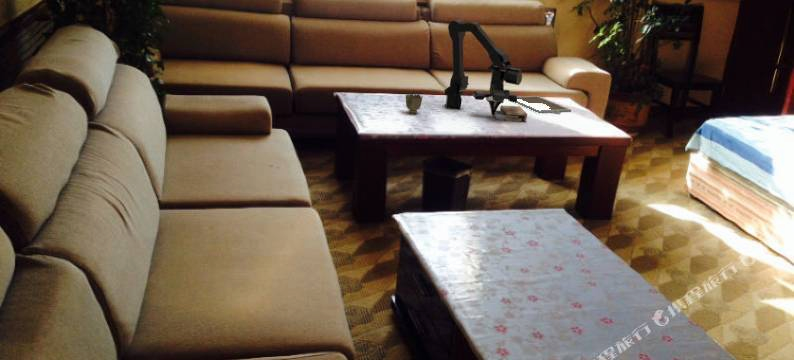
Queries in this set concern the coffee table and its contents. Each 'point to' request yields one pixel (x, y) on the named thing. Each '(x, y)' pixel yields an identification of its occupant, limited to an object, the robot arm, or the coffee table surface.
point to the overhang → (514, 112)
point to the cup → (413, 102)
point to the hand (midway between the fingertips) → (492, 115)
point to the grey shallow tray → (503, 115)
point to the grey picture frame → (536, 99)
